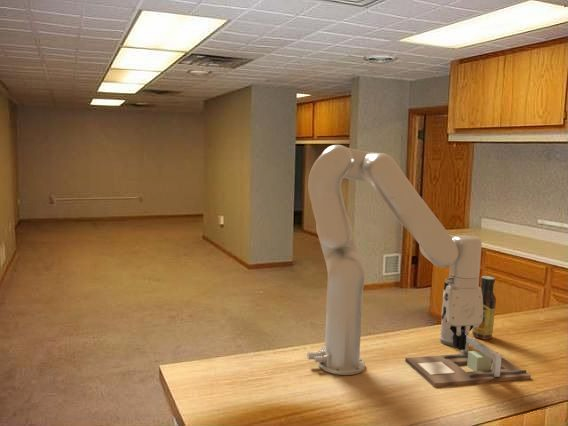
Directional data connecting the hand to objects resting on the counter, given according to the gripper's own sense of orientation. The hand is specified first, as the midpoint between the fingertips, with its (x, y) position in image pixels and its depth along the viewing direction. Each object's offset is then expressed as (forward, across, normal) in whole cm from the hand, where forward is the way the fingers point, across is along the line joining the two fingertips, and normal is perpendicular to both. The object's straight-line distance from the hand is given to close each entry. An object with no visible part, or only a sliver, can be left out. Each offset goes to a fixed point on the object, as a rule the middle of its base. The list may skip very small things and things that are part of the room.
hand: (459, 348), depth 138 cm
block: (+6, +7, 0) cm, 9 cm away
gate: (+5, +7, 0) cm, 8 cm away
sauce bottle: (+7, +23, +22) cm, 32 cm away
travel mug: (+7, +10, +19) cm, 22 cm away
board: (+6, +3, 0) cm, 7 cm away
